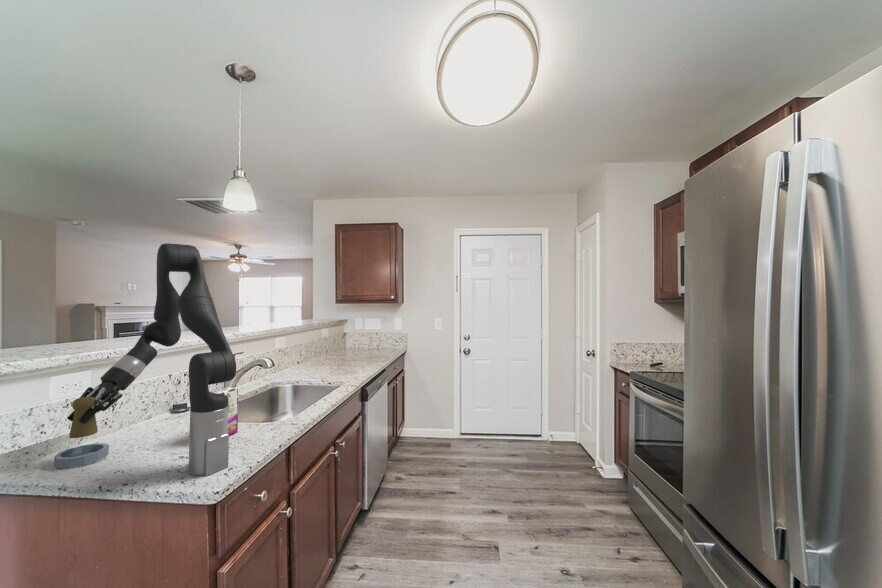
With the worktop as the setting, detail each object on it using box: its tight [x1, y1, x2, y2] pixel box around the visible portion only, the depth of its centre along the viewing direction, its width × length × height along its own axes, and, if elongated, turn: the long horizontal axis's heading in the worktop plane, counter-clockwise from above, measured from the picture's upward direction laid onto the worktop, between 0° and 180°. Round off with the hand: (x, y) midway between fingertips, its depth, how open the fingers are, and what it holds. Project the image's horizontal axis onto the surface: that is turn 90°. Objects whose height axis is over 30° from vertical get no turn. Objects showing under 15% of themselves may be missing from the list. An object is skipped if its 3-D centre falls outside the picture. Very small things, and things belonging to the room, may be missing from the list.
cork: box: [69, 397, 98, 439], centre depth 105 cm, size 6×6×11 cm
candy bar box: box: [210, 386, 239, 437], centre depth 123 cm, size 11×5×16 cm, turn 171°
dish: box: [53, 442, 110, 470], centre depth 104 cm, size 11×11×3 cm
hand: (75, 421), depth 103 cm, fingers closed on cork, 4 cm apart
